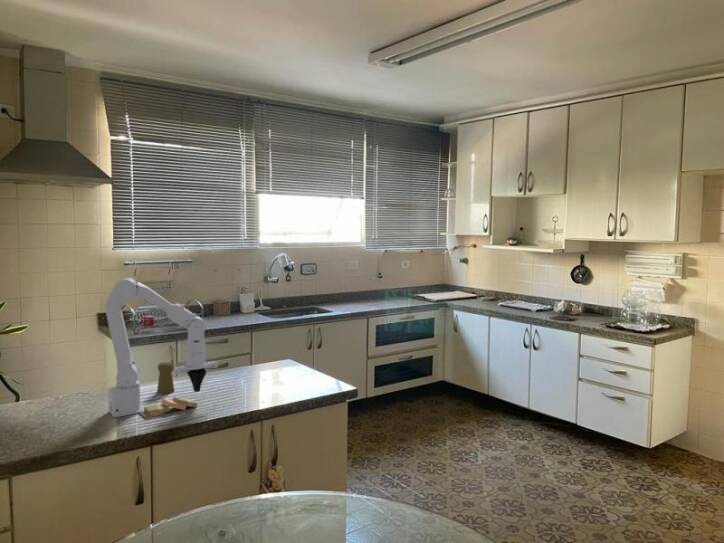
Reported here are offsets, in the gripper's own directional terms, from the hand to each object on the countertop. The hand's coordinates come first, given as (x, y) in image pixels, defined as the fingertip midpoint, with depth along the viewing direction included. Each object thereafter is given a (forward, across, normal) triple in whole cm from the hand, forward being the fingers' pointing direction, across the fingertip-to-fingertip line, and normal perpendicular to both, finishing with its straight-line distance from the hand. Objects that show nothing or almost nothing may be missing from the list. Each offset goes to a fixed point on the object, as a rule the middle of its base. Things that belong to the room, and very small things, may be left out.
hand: (196, 390), depth 188 cm
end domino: (+4, +1, 0) cm, 4 cm away
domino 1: (+5, +12, 0) cm, 13 cm away
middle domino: (+3, +10, 0) cm, 11 cm away
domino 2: (+4, +5, 0) cm, 7 cm away
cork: (+5, +4, -21) cm, 22 cm away
